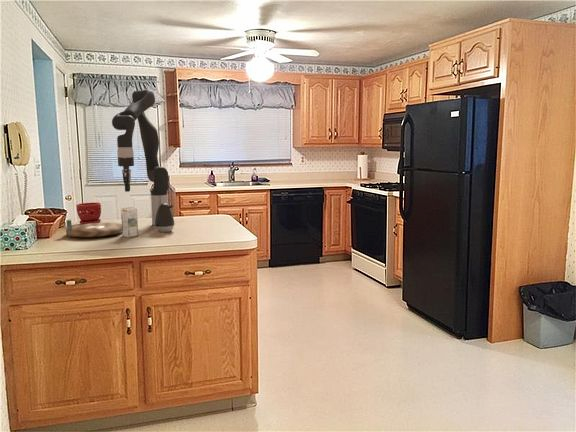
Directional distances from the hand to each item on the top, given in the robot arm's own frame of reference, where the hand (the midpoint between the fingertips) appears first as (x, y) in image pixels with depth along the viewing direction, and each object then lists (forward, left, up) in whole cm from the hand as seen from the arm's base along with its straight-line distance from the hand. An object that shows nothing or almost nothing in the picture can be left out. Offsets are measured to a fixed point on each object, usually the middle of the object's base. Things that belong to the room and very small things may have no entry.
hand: (127, 191), depth 236 cm
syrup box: (0, 0, -23) cm, 23 cm away
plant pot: (+26, -42, -23) cm, 55 cm away
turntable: (+18, -10, -22) cm, 30 cm away
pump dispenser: (-17, -8, -23) cm, 30 cm away
